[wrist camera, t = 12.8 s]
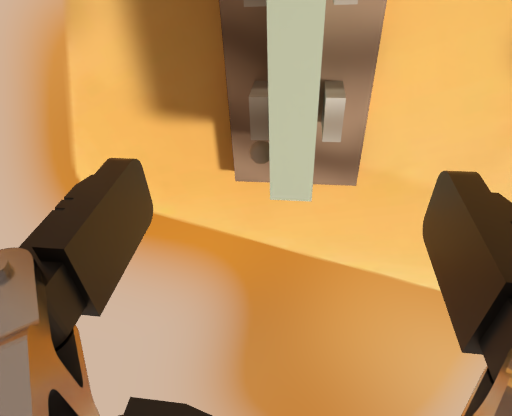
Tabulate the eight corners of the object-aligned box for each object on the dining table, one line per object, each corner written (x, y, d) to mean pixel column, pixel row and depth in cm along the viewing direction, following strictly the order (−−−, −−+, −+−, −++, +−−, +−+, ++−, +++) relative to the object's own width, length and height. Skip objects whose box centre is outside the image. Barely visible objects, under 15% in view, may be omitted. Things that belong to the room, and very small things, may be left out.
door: (254, -83, 19) (226, -87, 13) (326, -87, 19) (333, -93, 12) (261, 136, 27) (246, 198, 21) (312, 137, 27) (311, 201, 21)
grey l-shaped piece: (207, -203, 18) (100, -333, 9) (418, -223, 16) (543, -398, 7) (238, 171, 31) (208, 269, 22) (354, 175, 30) (371, 281, 21)
